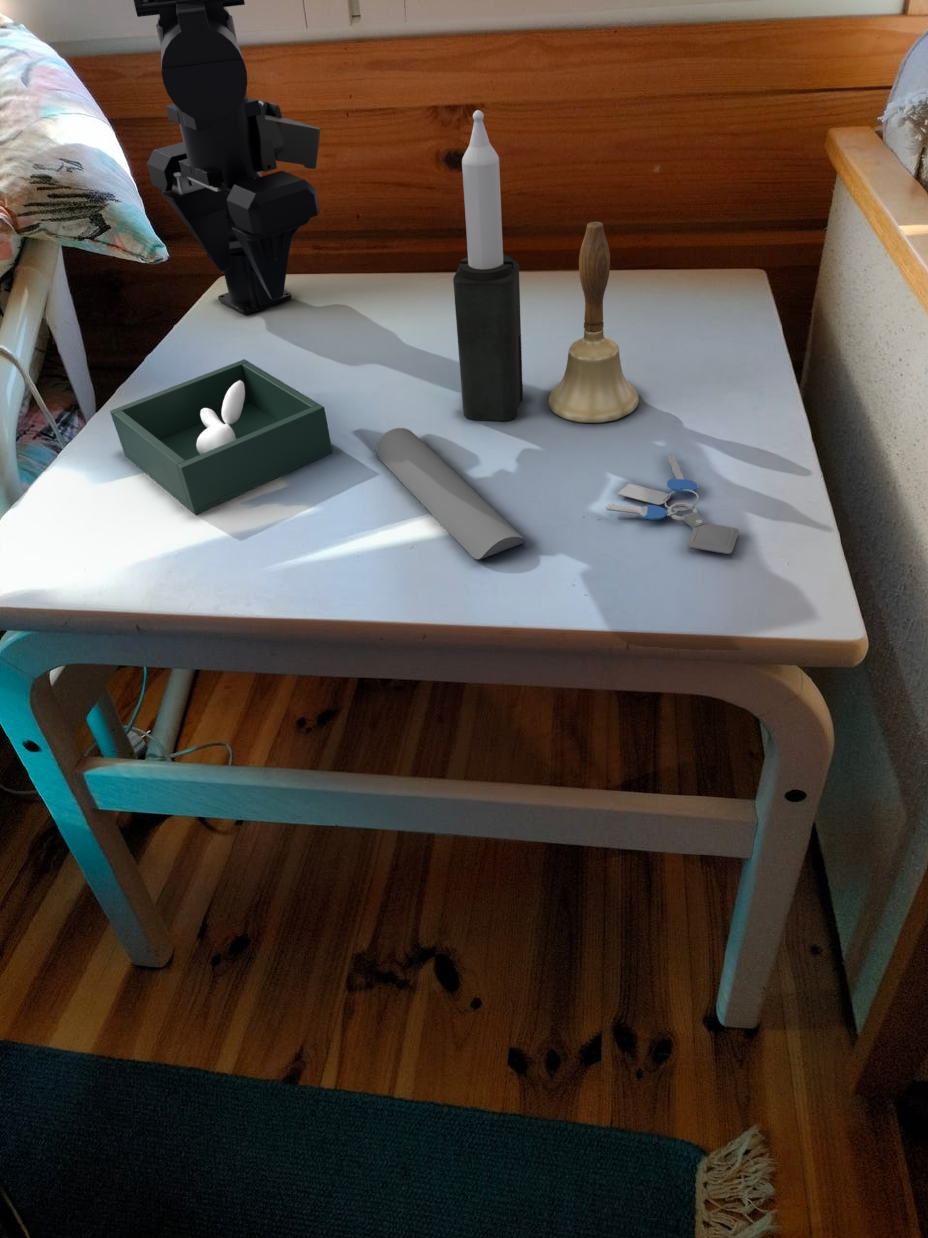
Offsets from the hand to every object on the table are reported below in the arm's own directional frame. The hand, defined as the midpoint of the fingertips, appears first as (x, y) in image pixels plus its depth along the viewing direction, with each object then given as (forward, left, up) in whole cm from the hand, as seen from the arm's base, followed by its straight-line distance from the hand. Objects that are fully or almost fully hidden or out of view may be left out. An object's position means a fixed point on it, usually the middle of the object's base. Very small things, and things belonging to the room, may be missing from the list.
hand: (250, 283), depth 86 cm
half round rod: (+25, +1, -12) cm, 28 cm away
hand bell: (+23, +21, -12) cm, 33 cm away
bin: (+6, -8, -12) cm, 15 cm away
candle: (+17, +14, -12) cm, 24 cm away
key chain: (+39, +11, -12) cm, 42 cm away
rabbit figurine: (+6, -8, -11) cm, 15 cm away
